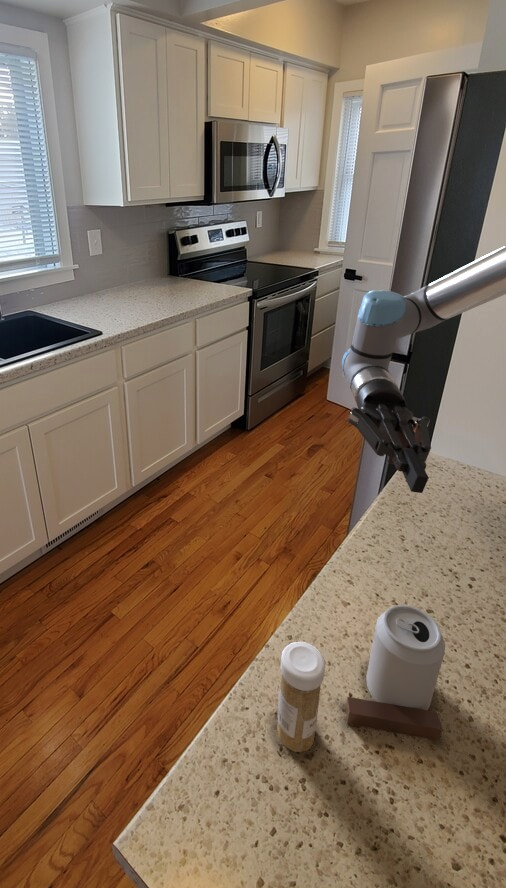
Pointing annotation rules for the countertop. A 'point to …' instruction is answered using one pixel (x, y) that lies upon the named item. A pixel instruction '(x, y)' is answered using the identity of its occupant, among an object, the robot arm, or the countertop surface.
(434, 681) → the can
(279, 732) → the sprinkles bottle
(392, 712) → the bar
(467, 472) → the countertop surface
